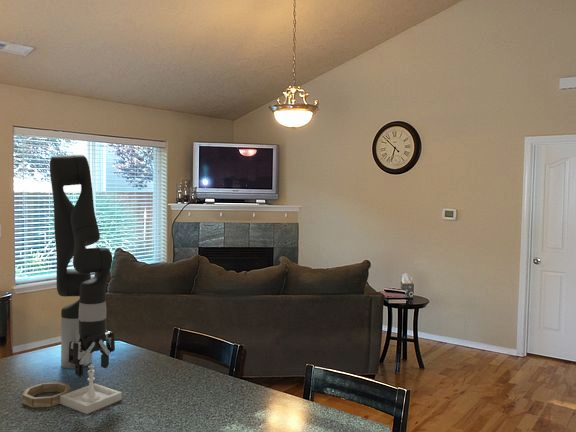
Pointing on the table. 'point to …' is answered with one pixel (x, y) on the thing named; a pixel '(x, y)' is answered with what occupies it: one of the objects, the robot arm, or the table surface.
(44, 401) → the holder ring
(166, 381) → the table surface
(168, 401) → the table surface
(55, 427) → the table surface
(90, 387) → the chess piece
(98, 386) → the tray
